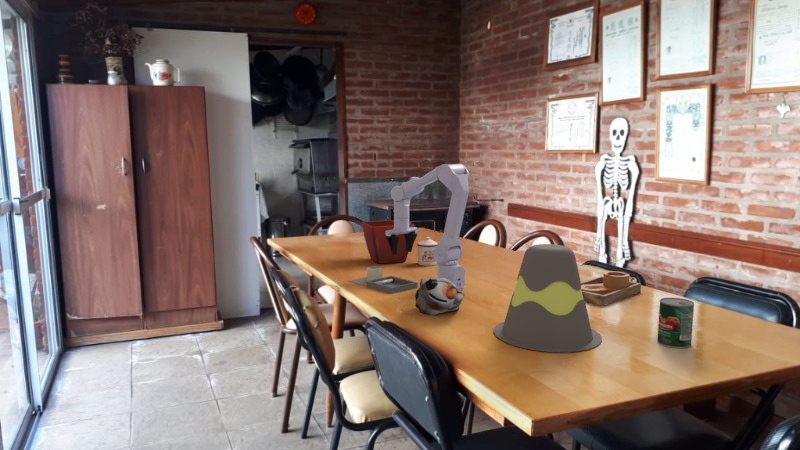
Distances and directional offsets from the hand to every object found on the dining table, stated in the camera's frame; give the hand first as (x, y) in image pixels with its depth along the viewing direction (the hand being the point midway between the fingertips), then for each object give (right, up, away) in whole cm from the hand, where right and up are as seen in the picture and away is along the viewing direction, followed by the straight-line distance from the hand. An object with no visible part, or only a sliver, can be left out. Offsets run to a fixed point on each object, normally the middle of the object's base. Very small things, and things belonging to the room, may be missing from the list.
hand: (401, 252), depth 217 cm
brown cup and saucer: (+69, -13, -23) cm, 73 cm away
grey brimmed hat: (+39, -19, -64) cm, 77 cm away
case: (-4, -12, -14) cm, 19 cm away
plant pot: (-6, -5, +36) cm, 37 cm away
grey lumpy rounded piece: (+12, -16, -43) cm, 47 cm away
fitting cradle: (+68, -13, -23) cm, 73 cm away
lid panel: (-12, -11, -4) cm, 17 cm away
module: (-10, -10, -6) cm, 15 cm away
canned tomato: (+69, -20, -71) cm, 102 cm away
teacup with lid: (+13, -6, +29) cm, 32 cm away
